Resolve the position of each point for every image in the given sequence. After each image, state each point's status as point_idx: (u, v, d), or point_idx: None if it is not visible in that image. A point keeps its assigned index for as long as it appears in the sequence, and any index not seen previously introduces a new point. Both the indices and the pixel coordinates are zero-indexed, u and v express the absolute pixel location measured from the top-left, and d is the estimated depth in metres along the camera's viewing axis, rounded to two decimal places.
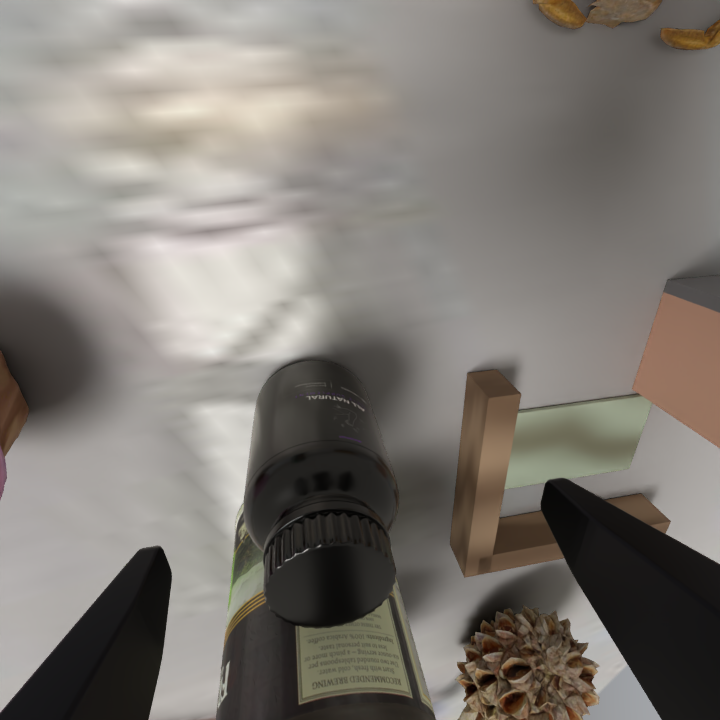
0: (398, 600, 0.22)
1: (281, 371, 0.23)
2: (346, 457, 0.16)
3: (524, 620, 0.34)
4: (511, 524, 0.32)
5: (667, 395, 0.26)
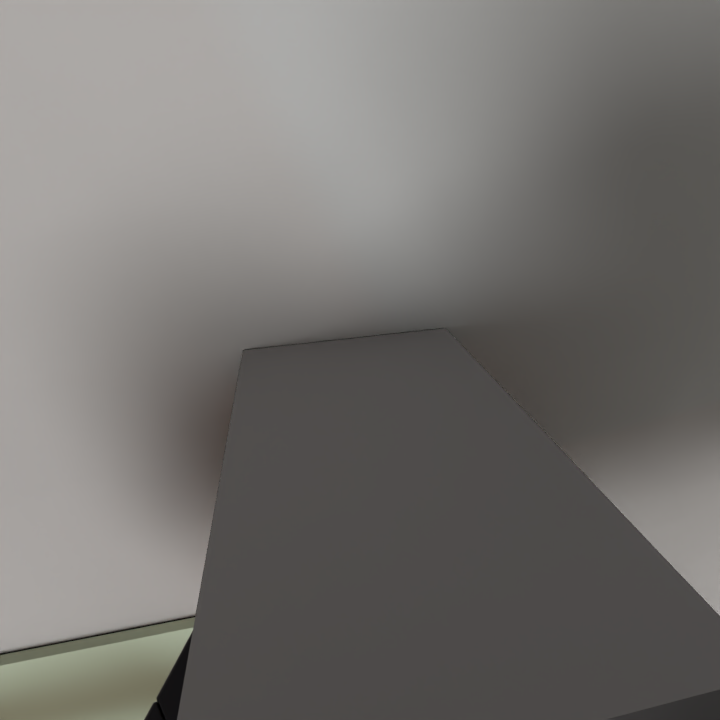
0: None
1: None
2: None
3: None
4: None
5: None
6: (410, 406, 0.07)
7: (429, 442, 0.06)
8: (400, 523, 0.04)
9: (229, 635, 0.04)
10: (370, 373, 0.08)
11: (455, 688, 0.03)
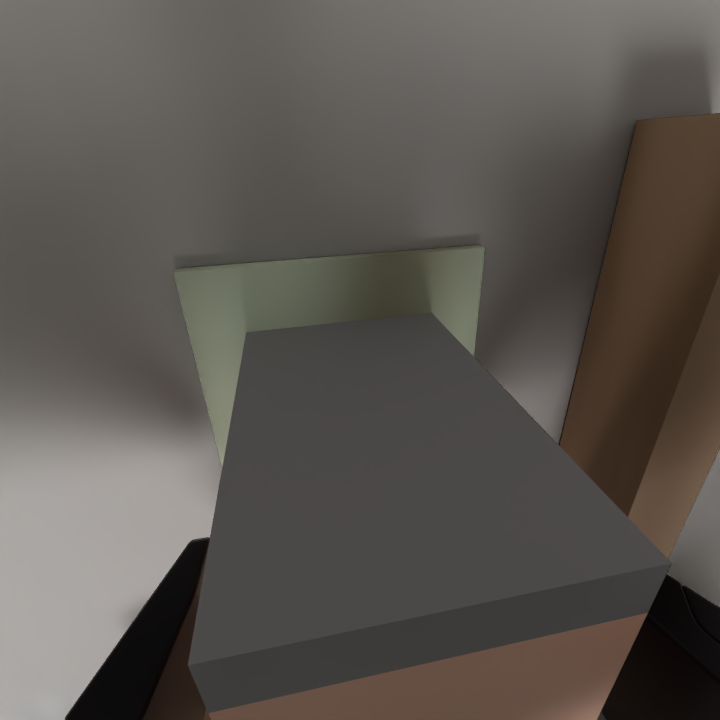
0: None
1: None
2: None
3: None
4: None
5: None
6: (395, 377, 0.07)
7: (410, 404, 0.07)
8: (382, 464, 0.05)
9: (239, 542, 0.04)
10: (361, 350, 0.08)
11: (418, 574, 0.04)
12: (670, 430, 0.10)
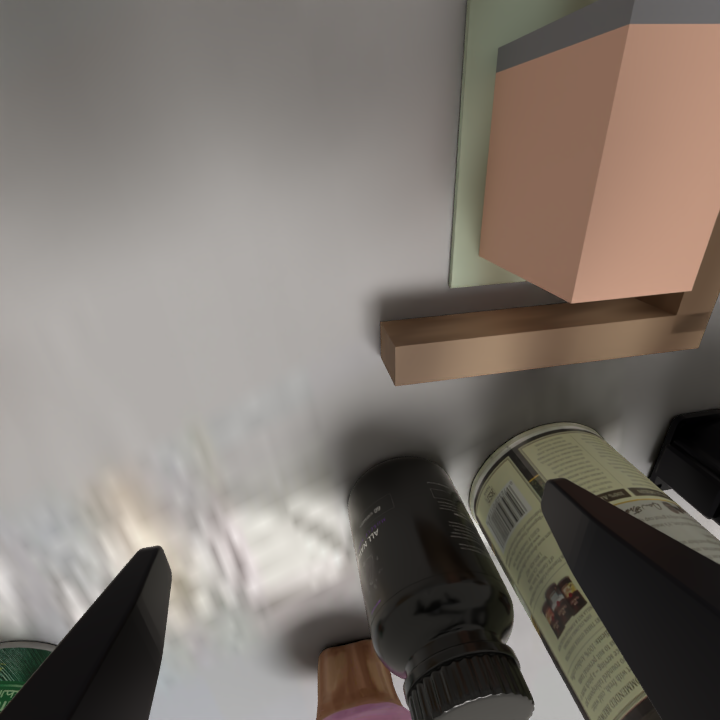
0: None
1: None
2: (381, 636, 0.18)
3: None
4: None
5: (508, 243, 0.17)
6: None
7: None
8: None
9: None
10: None
11: None
12: None
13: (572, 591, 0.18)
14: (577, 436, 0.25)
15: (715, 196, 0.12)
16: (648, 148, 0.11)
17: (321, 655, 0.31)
